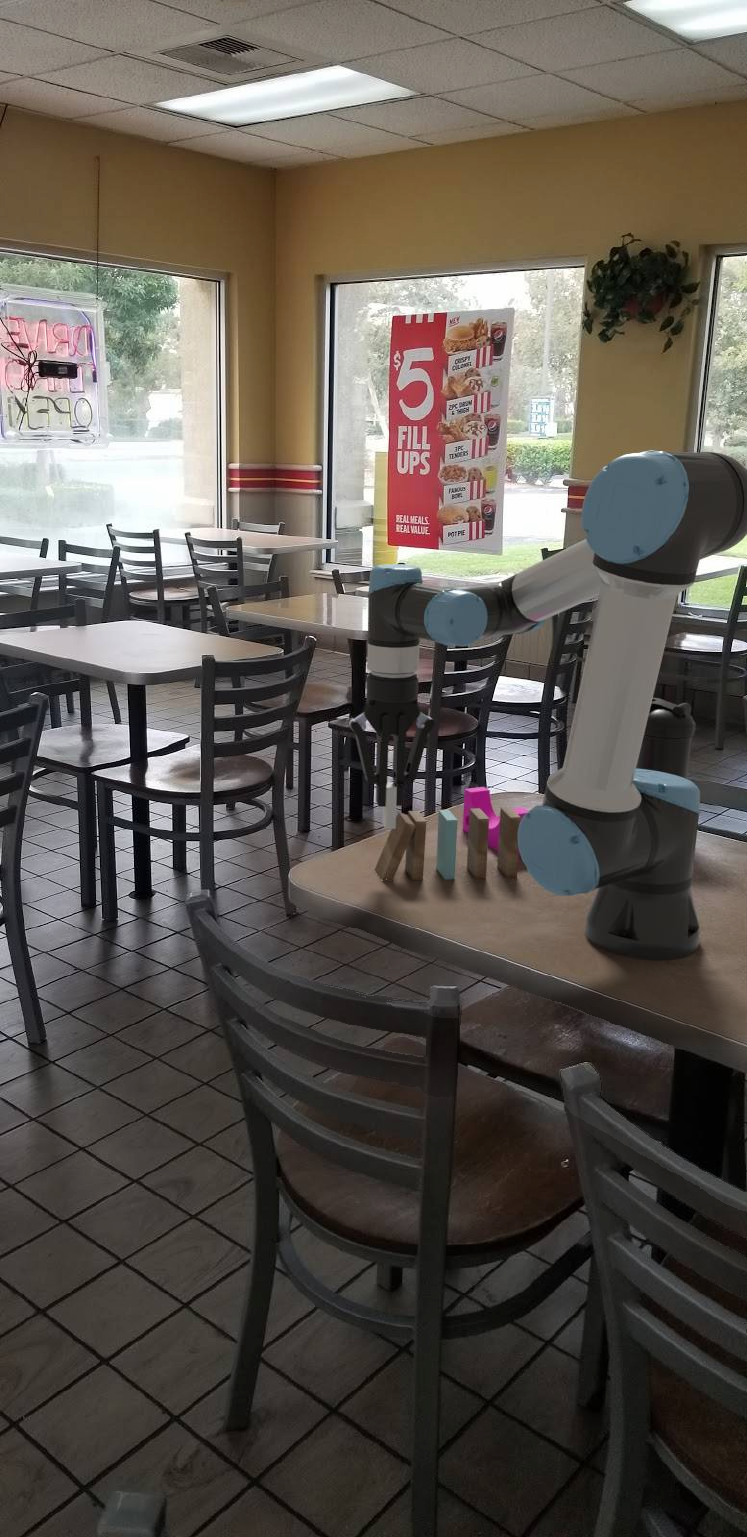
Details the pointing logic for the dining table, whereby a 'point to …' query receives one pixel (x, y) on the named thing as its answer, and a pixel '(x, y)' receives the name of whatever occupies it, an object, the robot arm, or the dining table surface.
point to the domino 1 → (395, 847)
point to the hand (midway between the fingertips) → (388, 826)
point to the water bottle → (667, 738)
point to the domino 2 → (416, 847)
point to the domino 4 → (477, 843)
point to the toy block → (482, 800)
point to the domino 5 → (508, 842)
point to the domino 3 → (446, 844)
